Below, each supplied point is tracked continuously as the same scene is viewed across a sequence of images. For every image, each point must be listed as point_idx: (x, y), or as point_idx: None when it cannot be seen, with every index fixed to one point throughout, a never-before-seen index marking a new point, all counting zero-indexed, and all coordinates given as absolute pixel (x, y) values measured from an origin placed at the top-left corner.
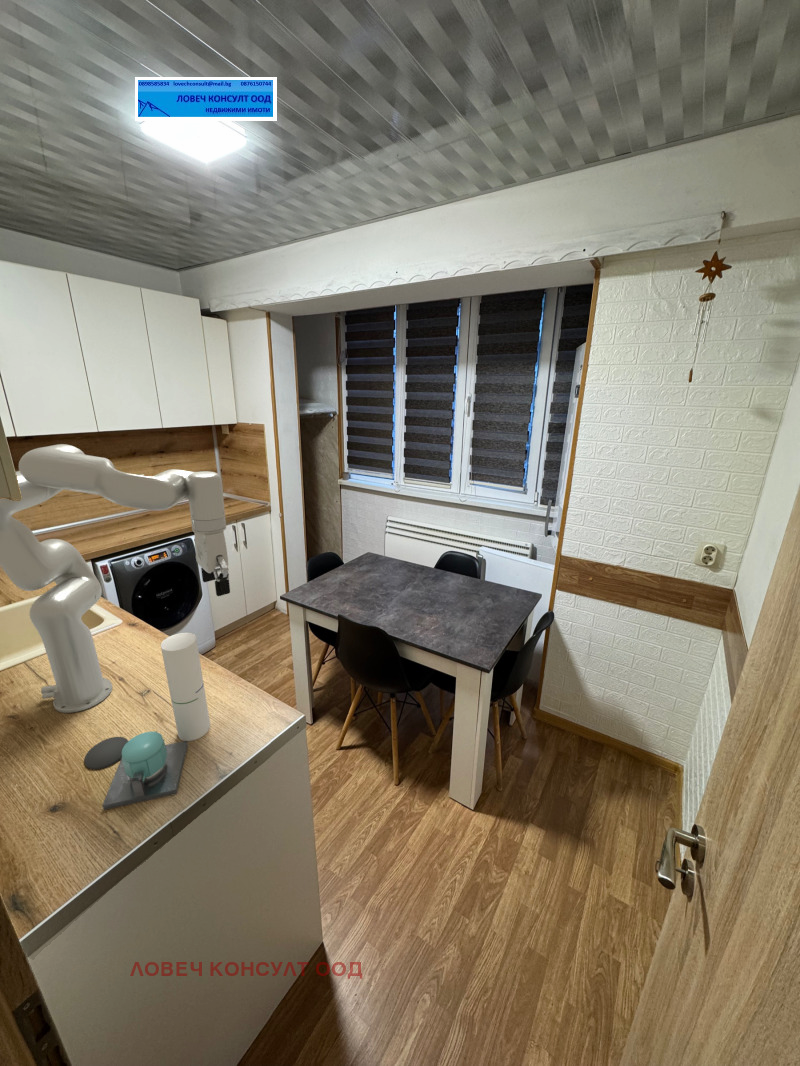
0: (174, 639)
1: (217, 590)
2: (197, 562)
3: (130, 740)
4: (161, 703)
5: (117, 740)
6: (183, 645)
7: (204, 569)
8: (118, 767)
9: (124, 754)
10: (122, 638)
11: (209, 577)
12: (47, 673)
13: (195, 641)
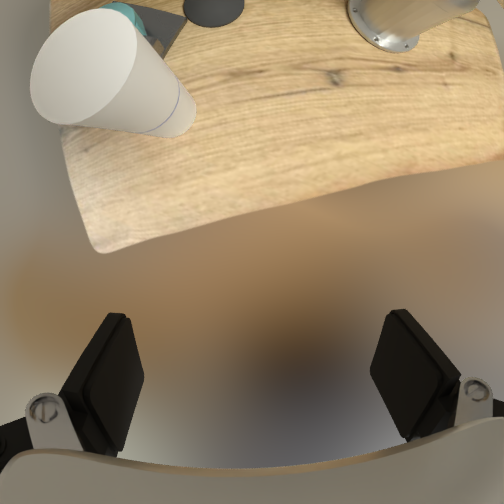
0: (101, 48)
1: (94, 342)
2: (484, 427)
3: (131, 10)
4: (282, 86)
5: (228, 15)
6: (44, 78)
7: (159, 482)
8: (161, 11)
9: (107, 6)
10: (491, 125)
11: (388, 358)
12: (459, 24)
13: (47, 118)
